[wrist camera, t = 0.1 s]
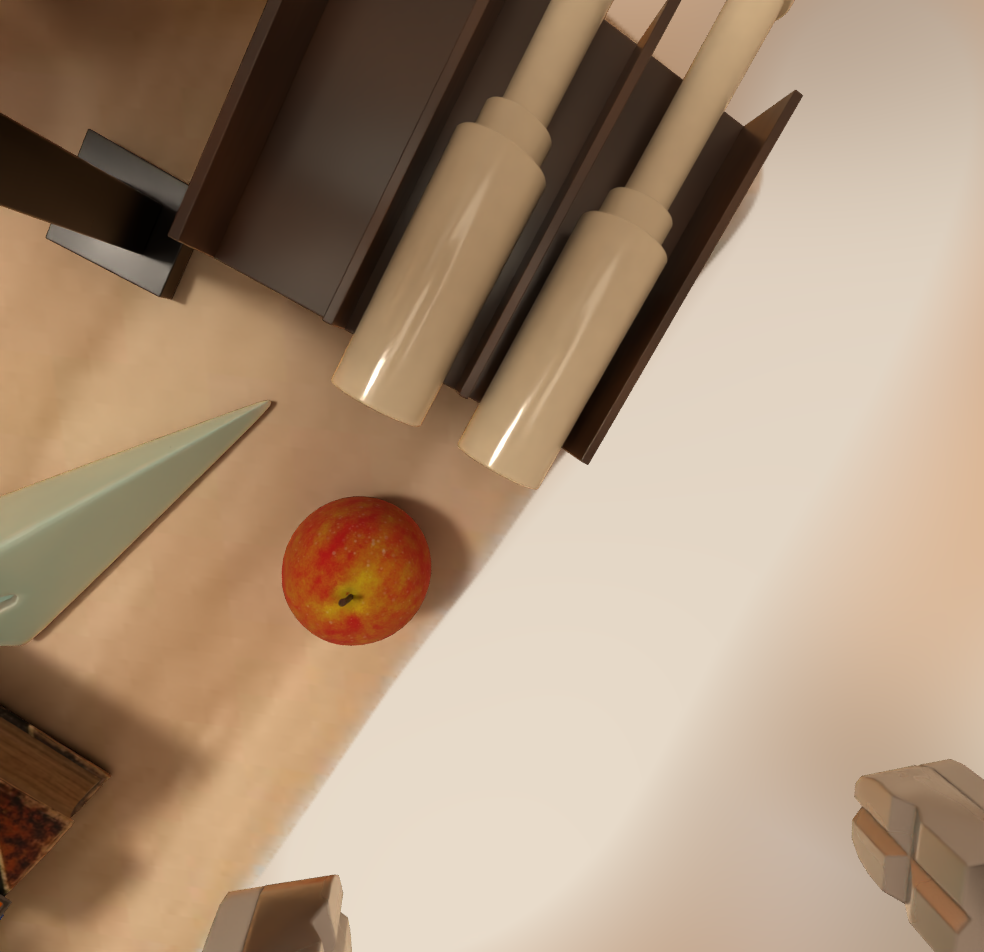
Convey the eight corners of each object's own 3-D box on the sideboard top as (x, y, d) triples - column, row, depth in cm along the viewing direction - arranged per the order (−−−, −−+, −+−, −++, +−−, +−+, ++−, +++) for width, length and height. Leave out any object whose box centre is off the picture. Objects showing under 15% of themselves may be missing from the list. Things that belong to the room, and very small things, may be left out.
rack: (427, -11, 24) (432, -417, 11) (663, 158, 27) (875, -15, 14) (273, 318, 26) (133, 285, 14) (505, 443, 29) (568, 511, 16)
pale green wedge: (158, 272, 25) (-210, 521, 22) (228, 361, 23) (-166, 645, 20) (247, 362, 32) (-19, 556, 30) (305, 435, 30) (26, 648, 28)
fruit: (443, 584, 30) (449, 663, 23) (322, 615, 30) (286, 707, 22) (413, 468, 29) (409, 510, 21) (283, 499, 28) (230, 554, 20)
